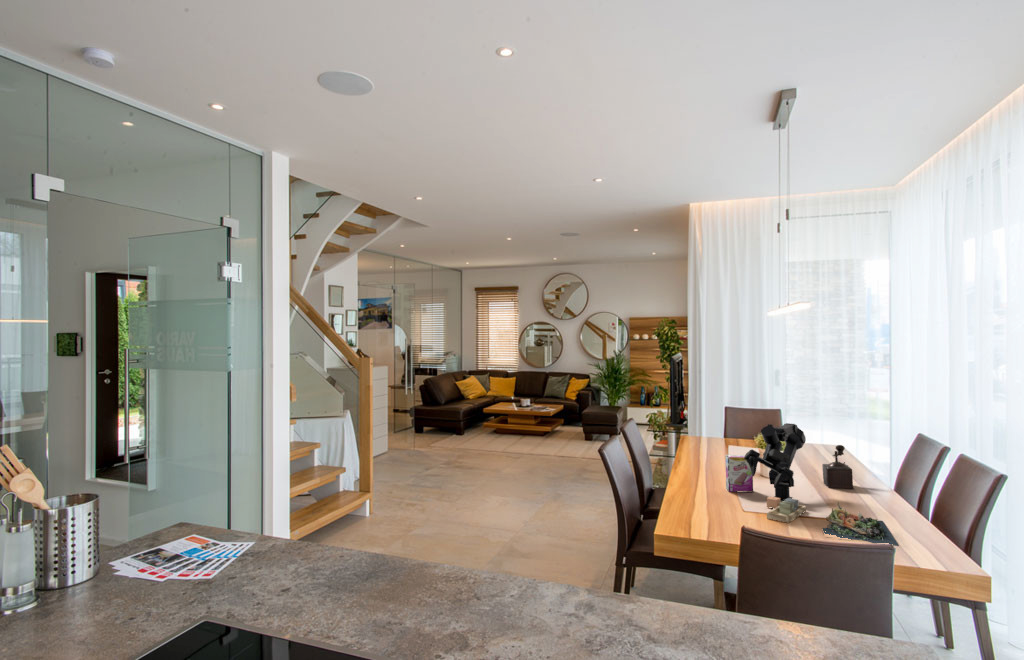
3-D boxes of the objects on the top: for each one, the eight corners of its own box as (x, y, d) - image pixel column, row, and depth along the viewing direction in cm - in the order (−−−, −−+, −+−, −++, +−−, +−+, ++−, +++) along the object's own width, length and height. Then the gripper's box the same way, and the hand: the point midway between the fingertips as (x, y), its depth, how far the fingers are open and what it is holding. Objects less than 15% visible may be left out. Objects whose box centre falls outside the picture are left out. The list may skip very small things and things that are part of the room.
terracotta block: (770, 505, 229) (770, 496, 230) (780, 507, 227) (780, 498, 227) (766, 507, 227) (766, 498, 227) (776, 509, 224) (776, 500, 224)
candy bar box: (729, 492, 250) (727, 457, 251) (725, 489, 255) (724, 454, 256) (754, 492, 249) (752, 456, 250) (750, 489, 254) (749, 454, 255)
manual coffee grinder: (855, 489, 250) (853, 450, 251) (828, 488, 253) (827, 449, 254) (845, 481, 265) (843, 444, 266) (819, 480, 268) (818, 443, 269)
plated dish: (806, 512, 222) (806, 494, 222) (888, 520, 211) (887, 501, 211) (816, 542, 190) (816, 521, 190) (913, 554, 178) (912, 532, 179)
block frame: (785, 507, 226) (784, 495, 226) (806, 511, 220) (805, 499, 221) (766, 518, 213) (766, 506, 213) (788, 523, 207) (787, 510, 207)
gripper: (760, 432, 227) (751, 462, 218) (804, 455, 223) (796, 486, 214) (748, 443, 236) (739, 472, 227) (789, 465, 232) (782, 496, 223)
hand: (764, 481), depth 222 cm, fingers open, 9 cm apart
